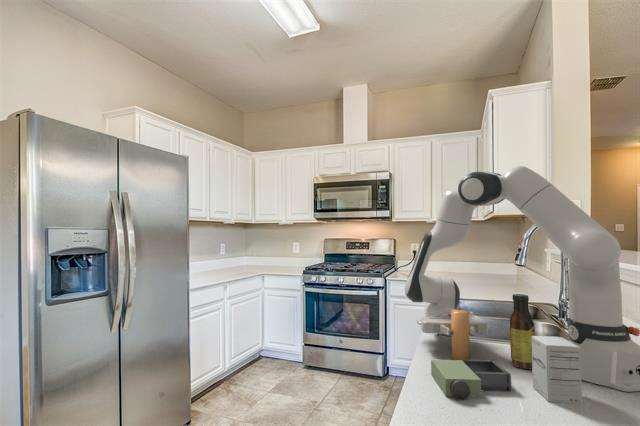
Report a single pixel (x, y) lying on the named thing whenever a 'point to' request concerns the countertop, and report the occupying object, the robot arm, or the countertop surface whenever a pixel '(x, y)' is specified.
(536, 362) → the supplement box
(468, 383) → the green rectangular block
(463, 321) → the orange cylinder
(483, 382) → the frame
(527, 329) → the sauce bottle
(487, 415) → the countertop surface
